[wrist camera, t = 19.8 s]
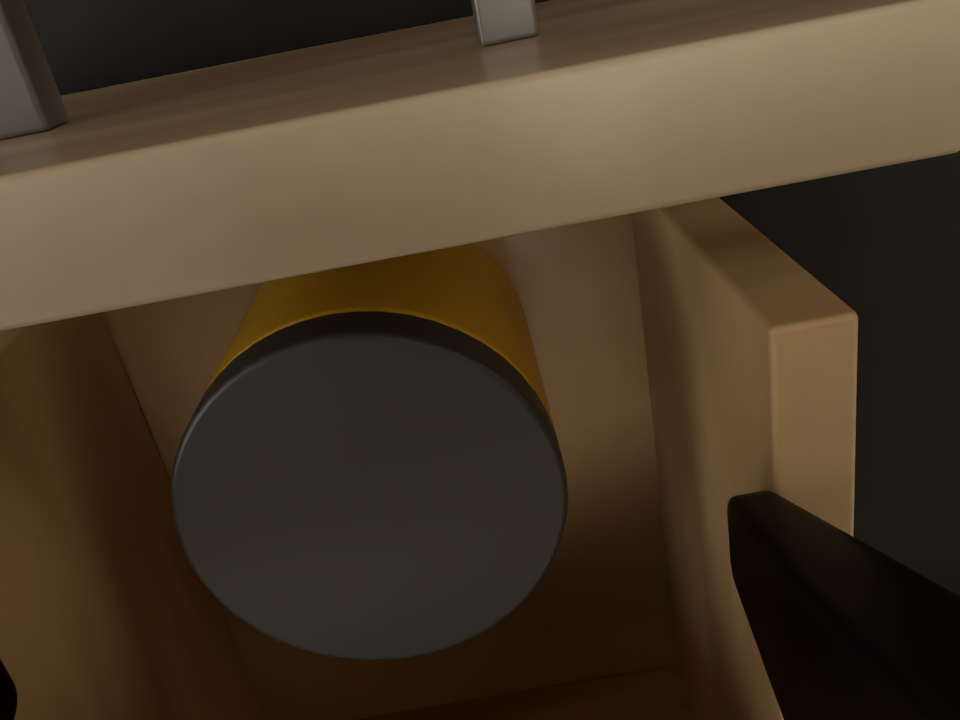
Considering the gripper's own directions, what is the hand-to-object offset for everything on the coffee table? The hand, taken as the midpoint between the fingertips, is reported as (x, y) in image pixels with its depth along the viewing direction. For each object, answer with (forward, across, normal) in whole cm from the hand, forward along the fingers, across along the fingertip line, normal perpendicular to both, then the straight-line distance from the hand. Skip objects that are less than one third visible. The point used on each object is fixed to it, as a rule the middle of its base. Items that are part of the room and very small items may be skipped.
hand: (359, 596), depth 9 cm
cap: (+6, 0, 0) cm, 6 cm away
